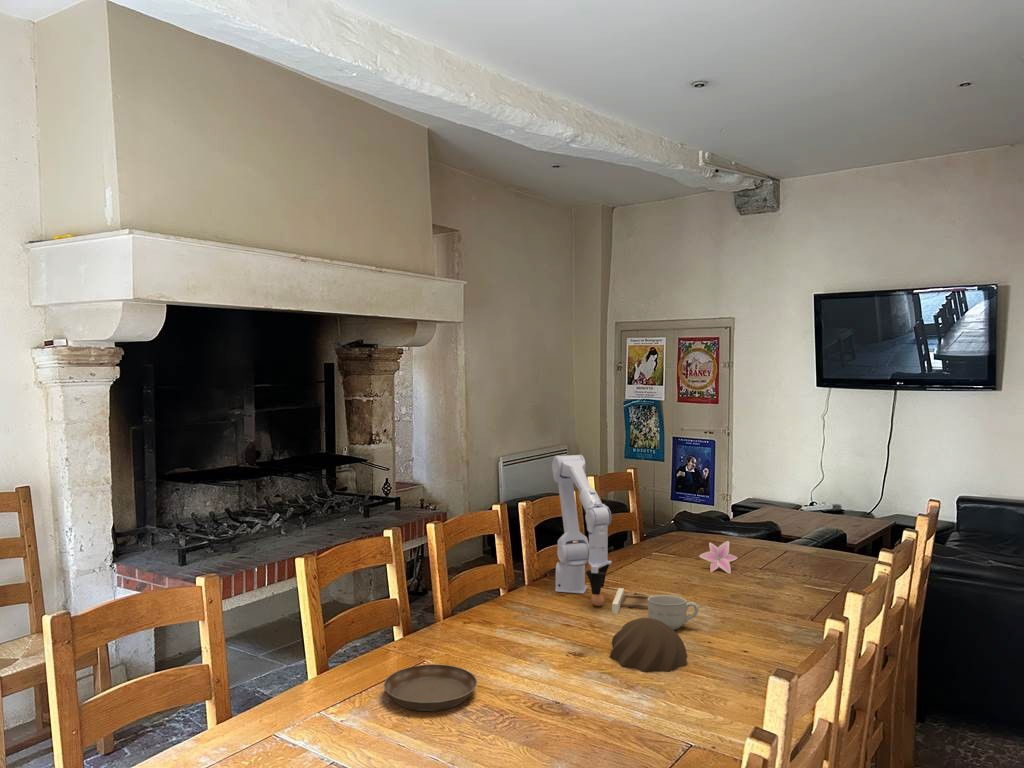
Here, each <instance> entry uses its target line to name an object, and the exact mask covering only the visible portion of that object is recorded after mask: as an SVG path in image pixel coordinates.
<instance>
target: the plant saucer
mask: <svg viewBox="0 0 1024 768" xmlns="http://www.w3.org/2000/svg"><path fill="white" fill-rule="evenodd" d="M477 685H478V679H477V678H476V676H475V675H474V674H473V673H471V671H469V670H467V669H464V668H461V667H458V666H454V665H448V664H422V665H421V664H420V665H414V666H409V667H405V668H402V669H400V670H397V671H395V672H393V673H392V674H390V675H389V676H388V677H387V678H386V679H385V680H384V682H383V687H384V688H383V689H384V690H385V692H386V694H387V695H388V696H389V698H390V699H391V700H392V701H393V702H394V703H396V704H398V705H399V706H401V707H403V708H405V709H408V710H413V711H419V712H436V711H441V710H447V709H450V708H453V707H456V706H459V705H460V704H461V703H463V702H464V701H466V700H467V699H468V698H469V697H470V696H471V694H473V692H474V691H475V689H476V687H477Z"/></svg>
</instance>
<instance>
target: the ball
mask: <svg viewBox="0 0 1024 768" xmlns="http://www.w3.org/2000/svg"><path fill="white" fill-rule="evenodd" d="M591 603H592V604H593V605H594V606H595V607H601V606H602V605H604V603H605V596H604V595H603V594H602V593H601V592H600V594H599V595H595V594H593V593H592V595H591Z"/></svg>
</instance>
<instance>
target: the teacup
mask: <svg viewBox="0 0 1024 768" xmlns="http://www.w3.org/2000/svg"><path fill="white" fill-rule="evenodd" d="M648 597H649V598H648V610H647V614H648V618H651V619H657V620H659V621H662V622H663V623H665V624H666V625H668V626H669V627H670V628H672V629H673V630H674V631H675V630H678V629H679V628H681V627H682V626H683V625H684V624H685V623H687V622H689V620H691V619H693V618H695V617H696V616H697V615H698V613H699V606H698V604H697V603H696V602H694V601H688V602H687V600H686V599H685V598H684V597H681V596H676V595H671V594H656V595H651V596H648ZM689 607H693V608H694V612H693V613H692V614H689V615H687V611H688V609H689Z"/></svg>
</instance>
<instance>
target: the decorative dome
mask: <svg viewBox="0 0 1024 768" xmlns="http://www.w3.org/2000/svg"><path fill="white" fill-rule="evenodd" d="M611 646H612V647H611V648H612V650H611V652H610V654H609V656H608V657H609V658H610V659H613V660H614V661H616V662H617V663H618V664H619V666H620V667H623V668H627V669H628V668H629V669H634V670H637V671H639V672H641V673H650V672H664V673H671V672H672V671H674V670H675V669H678V668H683V667H686V666H687V662H688V661H687V660H688V653H687V649H686V646H685V643H684V642H683V640H682V638H681V637H680V635H679V634H678V632H676V631H675V630H673V629H672V628H670V627H669V626H668V625H666V624H665V623H663V622H662V621H659V620H657V619H651V618H649V617H639V618H637V619H633V620H630V621H628V622H627V623H624V625H623V626H622V628H621V629H620V630H618V631H617V632H616V633H615V635H613V636H612V640H611Z"/></svg>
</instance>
